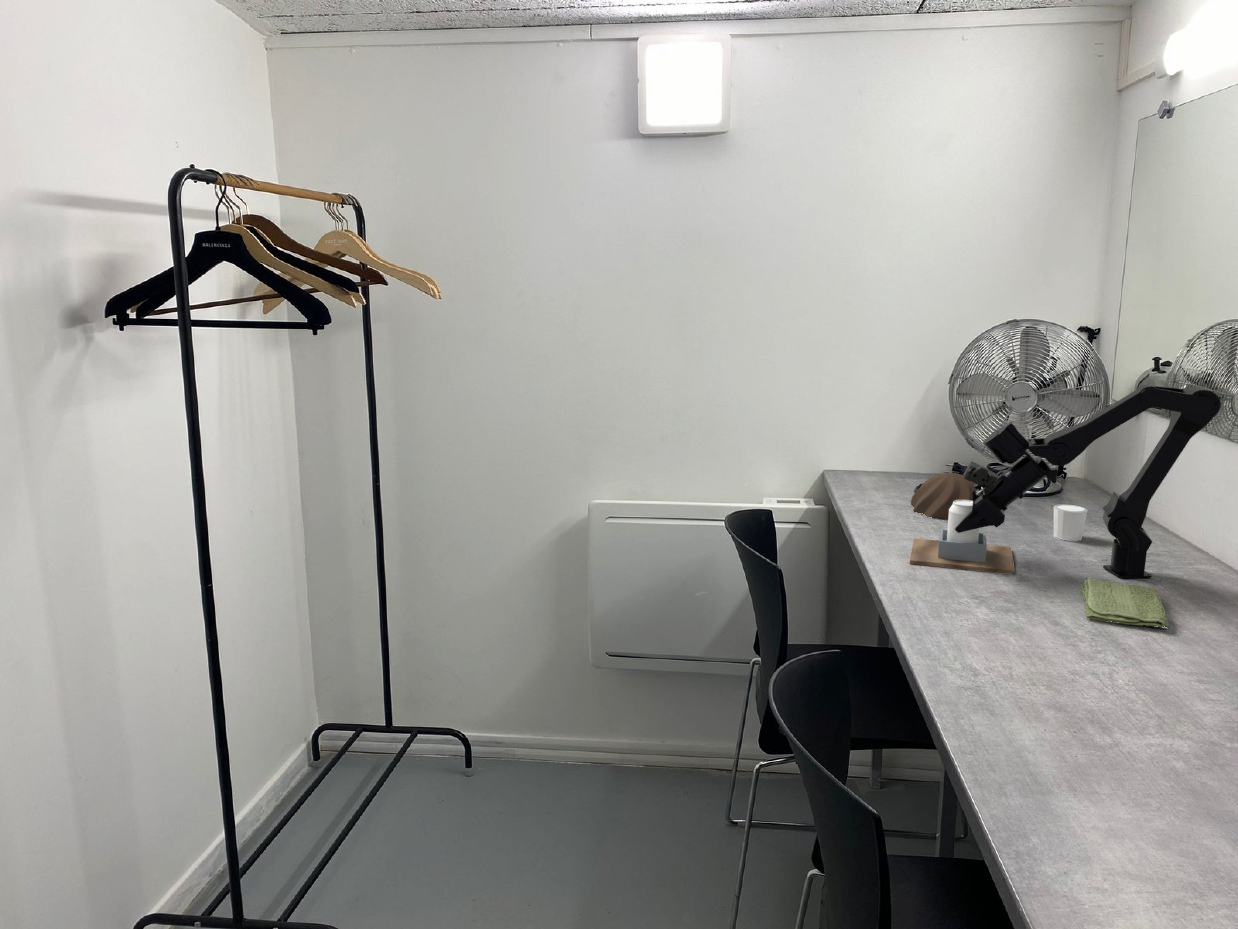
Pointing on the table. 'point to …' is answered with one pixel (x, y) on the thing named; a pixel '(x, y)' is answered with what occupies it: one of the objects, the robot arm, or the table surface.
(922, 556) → the brown slab
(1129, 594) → the washcloth
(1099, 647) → the table surface
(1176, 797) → the table surface
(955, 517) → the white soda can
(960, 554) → the gray square open box
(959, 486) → the decorative dome
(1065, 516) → the white tapered cup
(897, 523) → the table surface
